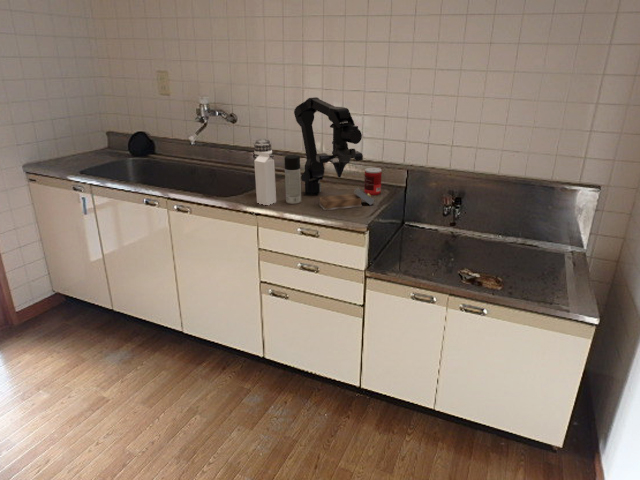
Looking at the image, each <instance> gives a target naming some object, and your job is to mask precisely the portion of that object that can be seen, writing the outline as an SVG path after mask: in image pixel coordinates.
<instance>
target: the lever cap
mask: <svg viewBox="0 0 640 480" xmlns="http://www.w3.org/2000/svg"><path fill="white" fill-rule="evenodd" d="M353 193H354V194H356V195H357V196H359V197H360V198H361V200H363V201H364V202H365V203H367V204H369V206H372V204H373V203H374V202H375V200H374V198H373V197H372V195H370V194H366V193H365V192H364V190H362V188H359V187H358V186H357V187H356V189H354V191H353Z"/></svg>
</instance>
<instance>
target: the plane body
mask: <svg viewBox="0 0 640 480" xmlns="http://www.w3.org/2000/svg"><path fill="white" fill-rule="evenodd" d="M318 203H319V204H318V205H319V206H320V208H322V210H324V211H329V210H340V209H341V210H342V209H349V208H359V207H363V205H362V199H361V198H360V197H359V196H357V195H356V194H355V193H346V194H340V195H339V194H338V195H337V194H336V195H328V196H319V202H318Z"/></svg>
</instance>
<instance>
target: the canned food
mask: <svg viewBox="0 0 640 480" xmlns="http://www.w3.org/2000/svg"><path fill="white" fill-rule="evenodd" d="M382 170H383V169H381V168H380V167H367V168H365V169H364V186H363V187H364V190H363V192H365V193H366V194H370V195H371V196H378V195H381V191H382V176H383V174H382V172H383V171H382Z"/></svg>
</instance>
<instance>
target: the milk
mask: <svg viewBox="0 0 640 480" xmlns="http://www.w3.org/2000/svg"><path fill="white" fill-rule="evenodd" d="M272 158H273V157H272ZM272 158H270V157H269V153H263V152H259V156H258V157H257V158H256V159H255V158H254V159H255V160H254V159H253V165H254V164H255V166H254V168H255V169H254V176H255V177H254V178H255V180H256V182H255V193H256V204H257V203H259V204H258V205H261V204H263V205H262V206H265V205H268V206H270V204H271V205H274V204H276V203H277V192H276V190H277V189H276V168H275V158H273V159H272ZM273 203H274V204H273Z"/></svg>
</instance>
